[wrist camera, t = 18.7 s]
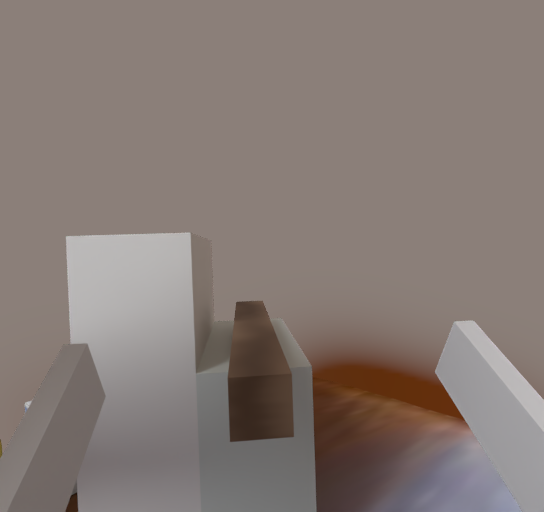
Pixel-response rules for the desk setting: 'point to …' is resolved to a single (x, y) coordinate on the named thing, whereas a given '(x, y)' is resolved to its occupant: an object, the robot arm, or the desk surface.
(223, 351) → the two-step riser
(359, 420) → the desk surface
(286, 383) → the walnut rod
